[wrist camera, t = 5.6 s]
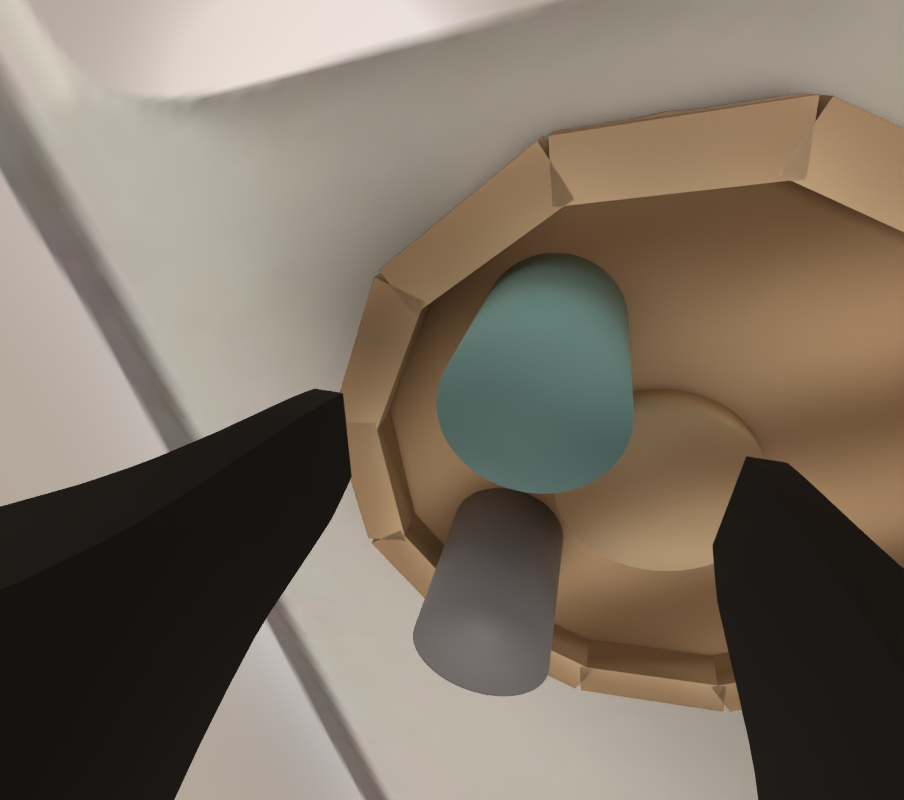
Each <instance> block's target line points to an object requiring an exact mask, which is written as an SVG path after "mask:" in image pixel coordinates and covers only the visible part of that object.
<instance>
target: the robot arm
mask: <svg viewBox="0 0 904 800" xmlns="http://www.w3.org/2000/svg"><path fill="white" fill-rule="evenodd" d="M351 477H352V474H351V464H350V455H349V445H348V436H347V426H346V416H345V407H344V397H343V393H338V392H332V391H326V390H319V389H313V390H310V391H307V392H304V393H302V394H299V395H297V396H294V397H292V398H290V399H287V400H285V401H283V402H281V403H279V404H276V405H274V406H272V407H270V408H268V409H266V410H263V411H261V412H259V413H257V414H255V415H253V416H251V417H248V418H246V419H244V420H242V421H240V422H238V423H235V424H233V425H231V426H229V427H227V428H225V429H222V430H220V431H218V432H216V433H214V434H211V435H209V436H206V437H204V438H202V439H199V440H197V441H195V442H192V443H190V444H188V445H185V446H183V447H180V448H178V449H176V450H173V451H171V452H169V453H166V454H164V455H162V456H159V457H156V458H154V459H152V460H149V461H146V462H143V463H141V464H138V465H136V466H133V467H130V468H128V469H124V470H121V471H118V472H116V473H112V474H110V475H107V476H104V477H101V478H98V479H95V480H92V481H89V482H86V483H82V484H80V485H76V486H73V487H69V488H66V489H62V490H58V491H55V492H51V493H48V494H44V495H40V496H37V497H34V498H30V499H26V500H23V501H19V502H16V503H12V504H8V505H5V506H1V507H0V800H174V799H175V797H176V794H177V792H178V790H179V788H180V786H181V784H182V782H183V780H184V777H185V775H186V773H187V771H188V769H189V767H190V764H191V762H192V760H193V758H194V756H195V753H196V752H197V749H198V747H199V745H200V743H201V741H202V739H203V737H204V735H205V733H206V731H207V729H208V727H209V725H210V723H211V721H212V719H213V717H214V715H215V713H216V711H217V709H218V706H219V705H220V703H221V701H222V699H223V697H224V695H225V692H226V691H227V689H228V687H229V685H230V683H231V681H232V679H233V677H234V675H235V673H236V672H237V670H238V667H239V666H240V664H241V662H242V660H243V658H244V657H245V654H246V653H247V651H248V649H249V647H250V645H251V643H252V641H253V639H254V638H255V636H256V634H257V633H258V631H259V629H260V628H261V626H262V624H263V623H264V621H265V619H266V618H267V616H268V615H269V613H270V611H271V610H272V608H273V607H274V605H275V604H276V602H277V601H278V599H279V598H280V596H281V595H282V593H283V592H284V590H285V589H286V587H287V586H288V584H289V583H290V581H291V580H292V578H293V577H294V575H295V574H296V572H297V571H298V569H299V568H300V566H301V565H302V563H303V562H304V560H305V559H306V557H307V556H308V554H309V553H310V551H311V550H312V548H313V547H314V545H315V544H316V542H317V541H318V539H319V538H320V536H321V534H322V533H323V531H324V530H325V528H326V527H327V525H328V524H329V522H330V520H331V519H332V517H333V515H334V513H335V511H336V509H337V507H338V505H339V503H340V501H341V499H342V496H343V494H344V492H345V490H346V488H347V486H348V483H349V481H350V479H351ZM712 547H713V561H714V574H715V585H716V595H717V603H718V607H719V612H720V617H721V621H722V626H723V630H724V635H725V639H726V644H727V648H728V652H729V657H730V661H731V665H732V670H733V674H734V678H735V682H736V687H737V691H738V695H739V700H740V704H741V708H742V713H743V717H744V721H745V726H746V730H747V734H748V739H749V744H750V749H751V755H752V760H753V765H754V771H755V777H756V785H757V793H758V800H904V568H903V567H901V566H900V565H899V564H898V563H897V562H896V561H895V560H894V559H892V558H891V557H890V556H889V555H888V554H887V553H886V552H885V551H884V550H882V549H881V548H880V547H879V546H878V545H877V544H876V543H875V542H874V541H873V540H871V539H870V538H869V537H868V536H867V535H866V534H865V533H864V532H863V531H862V530H861V529H860V528H858V527H857V526H856V525H855V524H854V523H853V522H852V521H851V520H850V519H849V518H848V517H847V516H846V515H844V514H843V513H842V512H841V511H840V510H839V509H838V508H837V507H836V506H835V505H834V504H833V503H832V502H831V501H830V500H828V499H827V498H826V497H825V496H824V495H823V494H822V493H821V492H820V491H819V490H818V489H817V488H816V487H815V486H813V485H812V484H811V483H810V482H809V481H808V480H807V479H806V478H805V477H804V476H803V475H801V474H800V473H799V472H798V471H797V470H796V469H794V468H793V467H792V466H791V465H790V464H788V463H786V462H780V461H774V460H767V459H761V458H754V457H748V456H746V458H745V461H744V464H743V466H742V469H741V471H740V474H739V477H738V479H737V482H736V485H735V487H734V490H733V493H732V495H731V498H730V500H729V503H728V506H727V508H726V511H725V514H724V516H723V519H722V521H721V524H720V527H719V529H718V532H717V535H716V537H715V540H714V542H713V545H712Z"/></svg>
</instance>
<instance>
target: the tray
mask: <svg viewBox="0 0 904 800" xmlns="http://www.w3.org/2000/svg"><path fill="white" fill-rule="evenodd" d="M548 141H549V145H548V143H547V142H546V140H545V138H544V137H541V138H540V139H539V140H538V141H536V142H535V143H534V144H533V145H531V146H530V147H529V148H528V149H527V150H525V151H524V152H523V153H522V154H520V155H519V156H518V157H517V158H516V159H514V160H513V161H512V162H511V163H509V164H508V165H507V166H506V167H505V168H503V169H502V170H501V171H500V172H499V173H497V174H496V175H495V176H494V177H492V178H491V179H490V180H489V181H488V182H486V183H485V184H484V185H483V186H481V187H480V188H479V189H478V190H477V191H475V192H474V193H473V194H472V195H470V196H469V197H468V198H467V199H466V200H464V201H463V202H462V203H461V204H459V205H458V206H457V207H456V208H455V209H453V210H452V211H451V212H450V213H448V214H447V215H446V216H445V217H444V218H442V219H441V220H440V221H439V222H437V223H436V224H435V225H434V226H433V227H431V228H430V229H429V230H428V231H427V232H425V233H424V234H423V235H422V236H420V237H419V238H418V239H417V240H416V241H414V242H413V243H412V244H411V245H409V246H408V247H407V248H406V249H405V250H403V251H402V252H401V253H400V254H398V255H397V256H396V257H395V258H394V259H392V260H391V261H390V262H389V263H387V264H386V265H385V266H384V267H383V268H381V269H380V270H379V271H380V273H379V274H378V275H377V276H376V277H374V280H373V283H372V287H371V290H370V293H369V297H368V300H367V304H366V307H365V310H364V314H363V317H362V320H361V324H360V327H359V330H358V334H357V337H356V340H355V344H354V347H353V351H352V354H351V357H350V361H349V364H348V367H347V371H346V374H345V377H344V381H343V384H342V387H341V391H340V393H343V397H344V407H345V416H346V426H347V436H348V445H349V455H350V464H351V474H352V477H351V483H352V486H353V489H354V492H355V496H356V499H357V502H358V505H359V509H360V512H361V515H362V518H363V522H364V525H365V528H366V531H367V535H368V538H373V539H374V540H373V542H372V544H373V545H374V546H375V547H376V548H377V549H378V550H379V551H380V552H381V553H382V554H383V555H384V556H385V557H386V558H387V560H388V561H389V562H390V563H391V564H392V565H393V566H394V567H395V568H396V569H397V570H398V571H399V572H400V573H401V574H402V575H403V576H404V577H405V578H406V579H407V580H408V581H409V582H410V583H411V584H412V585H413V587H414V588H415V589H416V590H417V591H418V592H419V593H420V594H421V595H422V596H423V597H424V598H425V597H426V594H427V592H428V589H429V586H430V583H431V581H432V578H433V575H434V572H435V570H436V567H437V564H438V561H439V559H440V556H441V553H442V550H443V548H444V545H445V542H446V539H447V536H448V534H449V531H450V528H451V525H452V523H453V520H454V517H455V514H456V512H457V509H458V507H459V506H460V504H461V503H462V502H463V501H464V500H465V499H466V498H467V497H469V496H470V495H472V494H474V493H476V492H479V491H481V490H485V489H492V488H506V487H503V486H500V485H497V484H495V483H493V482H491V481H489V480H487V479H485V478H484V477H482V476H480V475H479V474H477V473H476V472H474V471H473V470H472V469H470V468H469V467H468V466H467V465H466V464H465V463H464V462H463V461H462V460H461V459H460V458H459V457H458V456H457V455H456V454H455V453H454V451H453V450H452V448H451V447H450V445H449V444H448V442H447V441H446V439H445V437H444V435H443V433H442V430H441V427H440V424H439V420H438V416H437V407H436V398H437V390H438V386H439V382H440V379H441V377H442V374H443V372H444V370H445V368H446V366H447V365H448V363H449V361H450V360H451V358H452V356H453V354H454V353H455V351H456V349H457V348H458V346H459V344H460V342H461V341H462V339H463V337H464V336H465V334H466V332H467V330H468V329H469V327H470V325H471V324H472V322H473V320H474V318H475V317H476V315H477V313H478V312H479V310H480V308H481V306H482V305H483V303H484V301H485V300H486V298H487V296H488V294H489V293H490V291H491V289H492V288H493V286H494V284H495V283H496V281H497V280H498V279H499V278H500V277H501V275H502V274H503V273H505V272H506V271H507V270H508V269H509V268H510V267H512V266H513V265H515V264H516V263H518V262H520V261H522V260H524V259H526V258H529V257H532V256H535V255H539V254H544V253H566V254H572V255H576V256H579V257H583V258H585V259H587V260H589V261H592V262H593V263H595V264H596V265H598V266H600V267H601V268H602V269H603V270H605V271H606V272H607V273H608V274H609V275H610V276H611V277H612V278H613V280H614V281H615V282H616V284H617V285H618V287H619V288H620V290H621V292H622V294H623V296H624V299H625V303H626V306H627V312H628V325H629V341H630V357H631V374H632V390H633V406H634V424H633V430H632V435H631V438H630V441H629V444H628V446H627V448H626V450H625V451H624V453H623V455H622V456H621V458H620V459H619V460H618V462H617V463H616V464H615V465H614V466H613V467H612V468H611V469H610V470H609V471H608V472H606V473H605V474H604V475H602V476H601V477H600V478H598V479H596V480H595V481H593V482H591V483H589V484H587V485H585V486H582V487H580V488H577V489H573V490H570V491H565V492H559V493H548V494H539V493H527V492H524V493H526V494H529V495H531V496H533V497H535V498H537V499H538V500H540V501H541V502H543V503H544V504H545V505H547V506H548V507H549V508H550V509H551V510H552V511H553V512H554V514H555V515H556V517H557V518H558V520H559V522H560V524H561V527H562V530H563V546H562V555H561V564H560V573H559V583H558V592H557V601H556V611H555V620H554V629H553V638H552V648H551V657H550V666H549V672H548V675H549V676H551V677H553V678H555V679H557V680H559V681H561V682H563V683H565V684H567V685H569V686H572V687H574V688H576V687H577V686H578V685H579V684H580V683H581V690H584V691H591V692H597V693H604V694H611V695H617V696H624V697H630V698H637V699H644V700H650V701H657V702H664V703H670V704H677V705H683V706H690V707H697V708H703V709H710V710H717V711H723V706H724V704H725V706H726V707H727V708H728V709H729V711H737V710H742V708H741V704H740V700H739V695H738V691H737V687H736V682H735V678H734V674H733V670H732V665H731V661H730V657H729V652H728V648H727V644H726V639H725V635H724V630H723V626H722V621H721V617H720V612H719V607H718V603H717V595H716V585H715V574H714V561H713V547H712V545H713V542H714V540H715V537H716V535H717V532H718V529H719V527H720V524H721V521H722V519H723V516H724V514H725V511H726V508H727V506H728V503H729V500H730V498H731V495H732V493H733V490H734V487H735V485H736V482H737V479H738V477H739V474H740V471H741V469H742V466H743V464H744V461H745V458H746V456H748V457H754V458H761V459H767V460H774V461H780V462H786V463H788V464H790V465H791V466H792V467H793V468H794V469H796V470H797V471H798V472H799V473H800V474H801V475H803V476H804V477H805V478H806V479H807V480H808V481H809V482H810V483H811V484H812V485H813V486H815V487H816V488H817V489H818V490H819V491H820V492H821V493H822V494H823V495H824V496H825V497H826V498H827V499H828V500H830V501H831V502H832V503H833V504H834V505H835V506H836V507H837V508H838V509H839V510H840V511H841V512H842V513H843V514H844V515H846V516H847V517H848V518H849V519H850V520H851V521H852V522H853V523H854V524H855V525H856V526H857V527H858V528H860V529H861V530H862V531H863V532H864V533H865V534H866V535H867V536H868V537H869V538H870V539H871V540H873V541H874V542H875V543H876V544H877V545H878V546H879V547H880V548H881V549H882V550H884V551H885V552H886V553H887V554H888V555H889V556H890V557H891V558H892V559H894V560H895V561H896V562H897V563H898V564H899V565H900V566H901V567H903V568H904V128H902V127H900V126H898V125H896V124H894V123H891V122H889V121H887V120H885V119H883V118H880V117H878V116H876V115H874V114H872V113H870V112H867V111H865V110H863V109H861V108H859V107H856V106H854V105H852V104H850V103H848V102H845V101H843V100H841V99H839V98H837V97H834V96H826V95H820V94H805V93H799V94H793V95H786V96H780V97H773V98H767V99H760V100H754V101H747V102H741V103H734V104H728V105H721V106H715V107H709V108H700V109H689V110H678V111H666V112H661V113H657V114H652V115H648V116H643V117H639V118H634V119H630V120H624V121H618V122H611V123H605V124H598V125H592V126H586V127H579V128H573V129H566V130H560V131H553V132H552V133H551V134H550V135H549V136H548ZM506 489H509V488H506Z"/></svg>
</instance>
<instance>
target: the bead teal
mask: <svg viewBox="0 0 904 800" xmlns="http://www.w3.org/2000/svg"><path fill="white" fill-rule="evenodd" d="M436 407H437V416H438V420H439V424H440V427H441V430H442V433H443V435H444V437H445V439H446V441H447V442H448V444H449V445H450V447H451V448H452V450H453V451H454V453H455V454H456V455H457V456H458V457H459V458H460V459H461V460H462V461H463V462H464V463H465V464H466V465H467V466H468V467H469V468H470V469H472V470H473V471H474V472H476V473H477V474H479V475H480V476H482V477H484V478H485V479H487V480H489V481H491V482H493V483H495V484H497V485H500V486H503V487H506V488H509V489H512V490H516V491H520V492H527V493H539V494H548V493H559V492H565V491H570V490H573V489H577V488H580V487H582V486H585V485H587V484H589V483H591V482H593V481H595V480H596V479H598V478H600V477H601V476H602V475H604V474H605V473H606V472H608V471H609V470H610V469H611V468H612V467H613V466H614V465H615V464H616V463H617V462H618V460H619V459H620V458H621V456H622V455H623V453H624V451H625V450H626V448H627V446H628V444H629V441H630V438H631V435H632V430H633V424H634V406H633V390H632V374H631V357H630V341H629V325H628V312H627V306H626V303H625V299H624V296H623V294H622V292H621V290H620V288H619V287H618V285H617V284H616V282H615V281H614V280H613V278H612V277H611V276H610V275H609V274H608V273H607V272H606V271H605V270H603V269H602V268H601V267H600V266H598V265H596V264H595V263H593V262H592V261H589V260H587V259H585V258H583V257H579V256H576V255H572V254H566V253H544V254H539V255H535V256H532V257H529V258H526V259H524V260H522V261H520V262H518V263H516V264H515V265H513V266H512V267H510V268H509V269H508V270H507V271H506V272H505V273H503V274H502V275H501V277H500V278H499V279H498V280H497V281H496V283H495V284H494V286H493V288H492V289H491V291H490V293H489V294H488V296H487V298H486V300H485V301H484V303H483V305H482V306H481V308H480V310H479V312H478V313H477V315H476V317H475V318H474V320H473V322H472V324H471V325H470V327H469V329H468V330H467V332H466V334H465V336H464V337H463V339H462V341H461V342H460V344H459V346H458V348H457V349H456V351H455V353H454V354H453V356H452V358H451V360H450V361H449V363H448V365H447V366H446V368H445V370H444V372H443V374H442V377H441V379H440V382H439V386H438V390H437V398H436Z"/></svg>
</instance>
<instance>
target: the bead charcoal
mask: <svg viewBox="0 0 904 800" xmlns="http://www.w3.org/2000/svg"><path fill="white" fill-rule="evenodd" d="M562 546H563V530H562V527H561V524H560V522H559V520H558V518H557V517H556V515H555V514H554V512H553V511H552V510H551V509H550V508H549V507H548V506H547V505H545V504H544V503H543V502H541V501H540V500H538V499H537V498H535V497H533V496H531V495H529V494H526V493H524V492H520V491H516V490H512V489H506V488H492V489H485V490H481V491H479V492H476V493H474V494H472V495H470V496H469V497H467V498H466V499H465V500H464V501H463V502H462V503H461V504H460V506H459V507H458V509H457V512H456V514H455V517H454V520H453V523H452V525H451V528H450V531H449V534H448V536H447V539H446V542H445V545H444V548H443V550H442V553H441V556H440V559H439V561H438V564H437V567H436V570H435V572H434V575H433V578H432V581H431V583H430V586H429V589H428V592H427V594H426V597H425V600H424V603H423V605H422V608H421V611H420V614H419V616H418V619H417V622H416V625H415V627H414V632H413V640H414V645H415V647H416V650H417V652H418V654H419V655H420V657H421V658H422V659H423V661H424V662H425V663H426V664H427V665H428V666H429V667H430V668H431V669H432V670H433V671H434V672H436V673H437V674H438V675H440V676H441V677H443V678H444V679H446V680H447V681H449V682H451V683H453V684H455V685H457V686H459V687H462V688H464V689H467V690H470V691H473V692H477V693H481V694H486V695H492V696H514V695H520V694H524V693H527V692H530V691H532V690H534V689H536V688H537V687H539V686H540V685H541V684H542V683H543V682H544V680H545V679H546V677H547V675H548V672H549V666H550V657H551V648H552V638H553V629H554V620H555V611H556V601H557V592H558V583H559V573H560V564H561V555H562Z"/></svg>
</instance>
